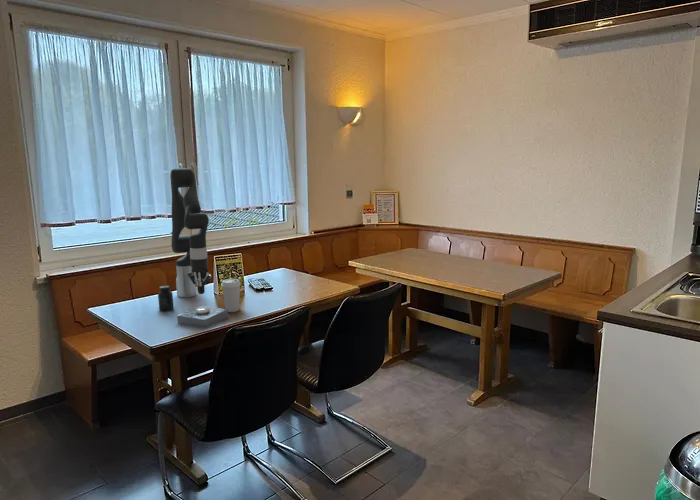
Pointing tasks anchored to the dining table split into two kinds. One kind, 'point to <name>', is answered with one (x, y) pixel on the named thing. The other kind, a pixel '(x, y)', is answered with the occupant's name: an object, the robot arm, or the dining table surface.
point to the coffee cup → (231, 294)
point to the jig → (202, 317)
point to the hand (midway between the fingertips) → (201, 293)
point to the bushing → (202, 310)
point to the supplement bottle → (165, 299)
